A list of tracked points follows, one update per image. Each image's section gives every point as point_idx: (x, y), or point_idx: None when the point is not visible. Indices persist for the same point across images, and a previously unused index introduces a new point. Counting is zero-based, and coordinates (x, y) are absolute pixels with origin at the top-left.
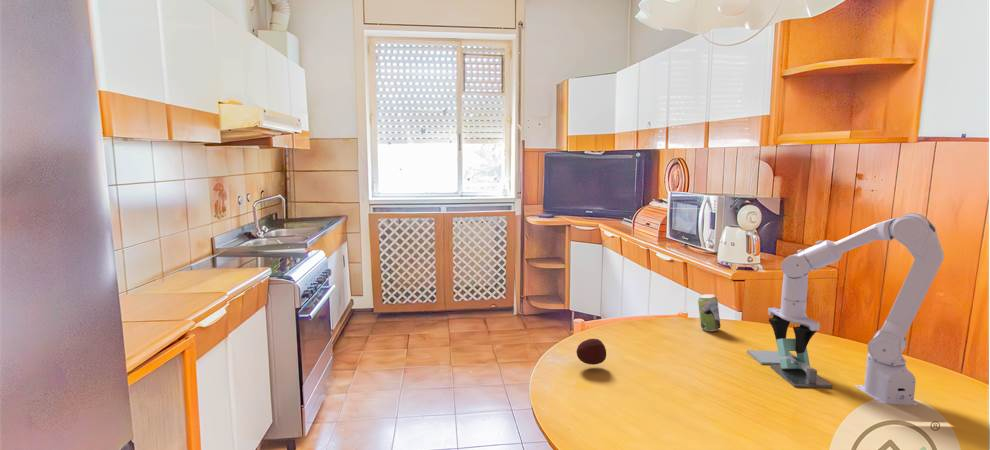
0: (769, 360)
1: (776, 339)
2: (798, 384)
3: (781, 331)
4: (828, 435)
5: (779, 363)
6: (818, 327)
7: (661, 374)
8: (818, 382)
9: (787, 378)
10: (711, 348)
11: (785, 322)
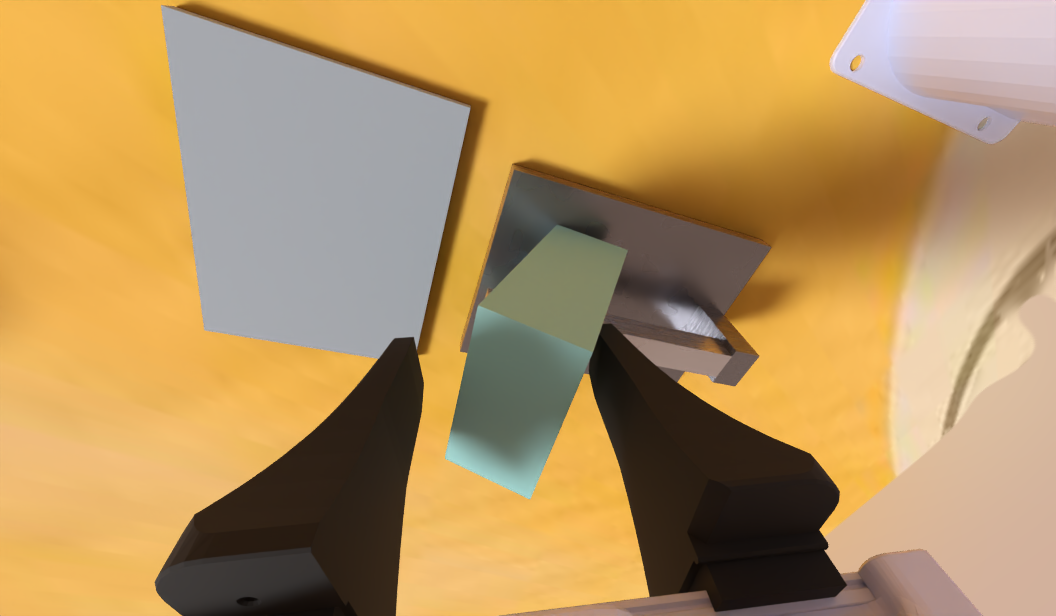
0: (391, 312)
1: (448, 459)
2: (680, 374)
3: (394, 464)
4: (883, 468)
5: (431, 279)
6: (958, 606)
7: (460, 605)
8: (716, 287)
9: None
10: (178, 445)
11: (359, 544)
